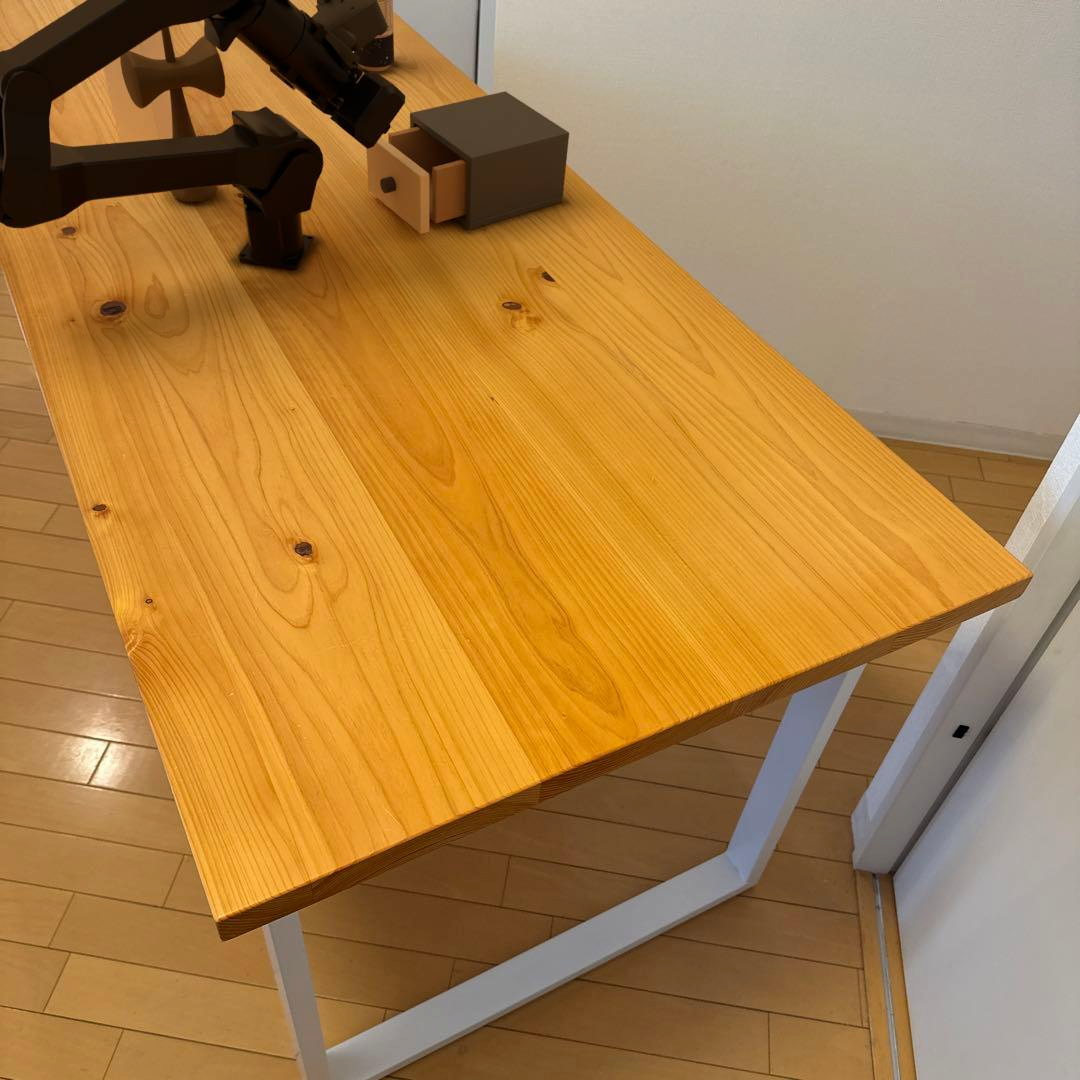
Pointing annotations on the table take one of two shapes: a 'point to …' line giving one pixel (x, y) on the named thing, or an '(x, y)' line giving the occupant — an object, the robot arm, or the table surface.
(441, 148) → the drawer
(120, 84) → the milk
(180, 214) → the table surface
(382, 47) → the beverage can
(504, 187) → the cabinet
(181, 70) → the kendama
